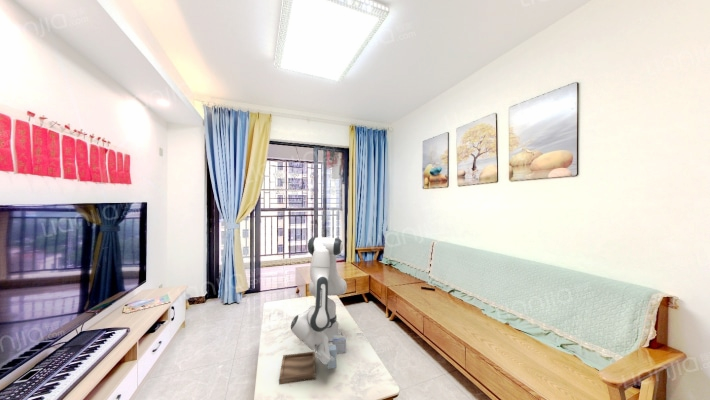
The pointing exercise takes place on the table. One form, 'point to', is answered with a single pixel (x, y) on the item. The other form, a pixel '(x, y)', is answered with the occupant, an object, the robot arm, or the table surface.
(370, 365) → the table surface
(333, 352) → the slate block
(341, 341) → the medicine box
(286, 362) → the walnut tray
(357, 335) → the table surface
